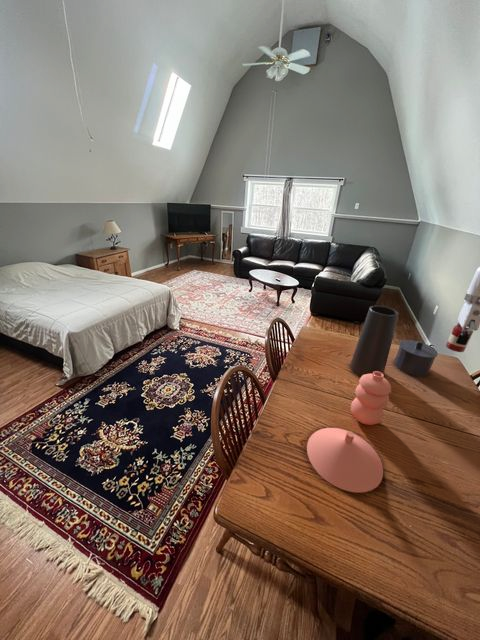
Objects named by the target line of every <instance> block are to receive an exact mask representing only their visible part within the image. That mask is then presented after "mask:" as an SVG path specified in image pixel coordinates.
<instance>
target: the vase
mask: <svg viewBox="0 0 480 640" xmlns="http://www.w3.org/2000/svg"><path fill="white" fill-rule="evenodd" d="M399 315H400V313H399V312H398V311H397V310H396V309H394V308H391V307H388V306H385V305H371V306H370V307H369V308H368V311H367V314H366V317H365V320H364V322H363V326H362V328H361V330H360V335H359V337H358V340H357V343H356V346H355V349H354V352H353V355H352V358H351V361H350V364H349V369H350V371H351V372H352V373H353V374H354V375H356V376H358V377H360V378H361V377H362V376H363V375H365V374H373V372H374V371H378V372H381V373H383V375H384V374H385V370H386V366H387V363H388V358H389V354H390V350H391V347H392V342H393V338H394V336H395V331H396V327H397V324H398V319H399Z"/></svg>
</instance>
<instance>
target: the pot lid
mask: <svg viewBox="0 0 480 640" xmlns="http://www.w3.org/2000/svg"><path fill="white" fill-rule="evenodd" d="M398 346H399V347H401V349H403V350H404V351H406V352H407V353H409V354H412V355H414V356H418V357H422V358H435V359H436V357H438V354H439V353H438V351H437V350H436V349H435V348H434V347H433V346H431V345H429V344H427V343H425V341H423V340H411V339H403V340H401V341H400V342H399V343H398Z"/></svg>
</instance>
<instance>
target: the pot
mask: <svg viewBox="0 0 480 640" xmlns="http://www.w3.org/2000/svg"><path fill="white" fill-rule="evenodd" d="M435 359H436V357H435V358H422V357H418V356H414V355H412V354H409V353H407V352H406V351H404V350H403V349H401V347H400V346H399V347H398V350H397V352H396V356H395V359H394V362H393V363H394V366H395V367H396V368H397V369H399V370H400V371H402V372H404V373H406V374H408V375H412V376H416V377H425V376H428V374H429V373H430V370H431V368H432V367H433V364H434V361H435Z"/></svg>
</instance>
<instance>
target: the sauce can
mask: <svg viewBox="0 0 480 640" xmlns="http://www.w3.org/2000/svg"><path fill="white" fill-rule="evenodd" d="M465 328H468V327H467V326H466V327H465ZM465 331H467V330H466V329H465ZM465 331H464V332H465ZM461 332H462V327H461V326H457V325H454V326H453V328H452V331H451V332H450V334H449V337H448V340H447V342H446V344H445V347H446V348H447V349H449V350H450V351H453V352H456V353H464V352H465V350H466V349H467V346H468V345H469V342H470V340H471V338H472V335H473V333H472V334H471V336H470V337H469V339H468V342H467V344H466V345H461V344H457V343H456V341H457V339H458V337H459V334H461Z"/></svg>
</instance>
